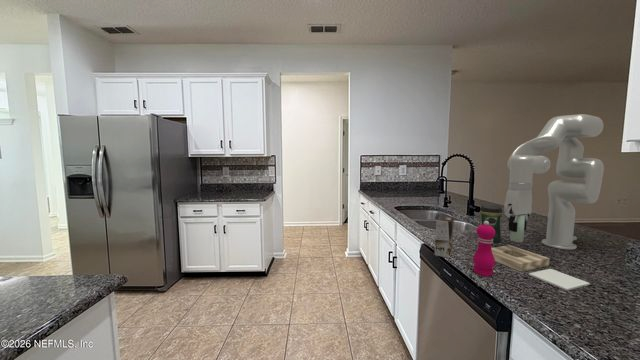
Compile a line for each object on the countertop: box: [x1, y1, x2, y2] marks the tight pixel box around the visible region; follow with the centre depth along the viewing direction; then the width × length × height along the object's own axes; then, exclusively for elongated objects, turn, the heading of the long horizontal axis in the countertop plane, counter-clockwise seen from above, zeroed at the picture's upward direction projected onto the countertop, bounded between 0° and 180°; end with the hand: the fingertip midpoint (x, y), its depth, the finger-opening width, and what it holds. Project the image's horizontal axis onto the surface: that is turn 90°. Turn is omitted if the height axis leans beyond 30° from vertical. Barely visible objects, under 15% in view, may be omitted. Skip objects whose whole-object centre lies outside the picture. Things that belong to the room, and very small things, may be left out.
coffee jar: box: [479, 203, 503, 243], centre depth 137 cm, size 10×8×19 cm
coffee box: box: [434, 215, 455, 259], centre depth 120 cm, size 9×6×16 cm
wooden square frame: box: [491, 244, 550, 272], centre depth 112 cm, size 16×16×3 cm
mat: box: [528, 268, 591, 292], centre depth 96 cm, size 12×12×1 cm
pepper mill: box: [472, 221, 496, 277], centre depth 101 cm, size 7×7×20 cm
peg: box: [509, 213, 525, 243], centre depth 111 cm, size 4×4×11 cm
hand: (517, 230), depth 111 cm, fingers closed on peg, 4 cm apart
